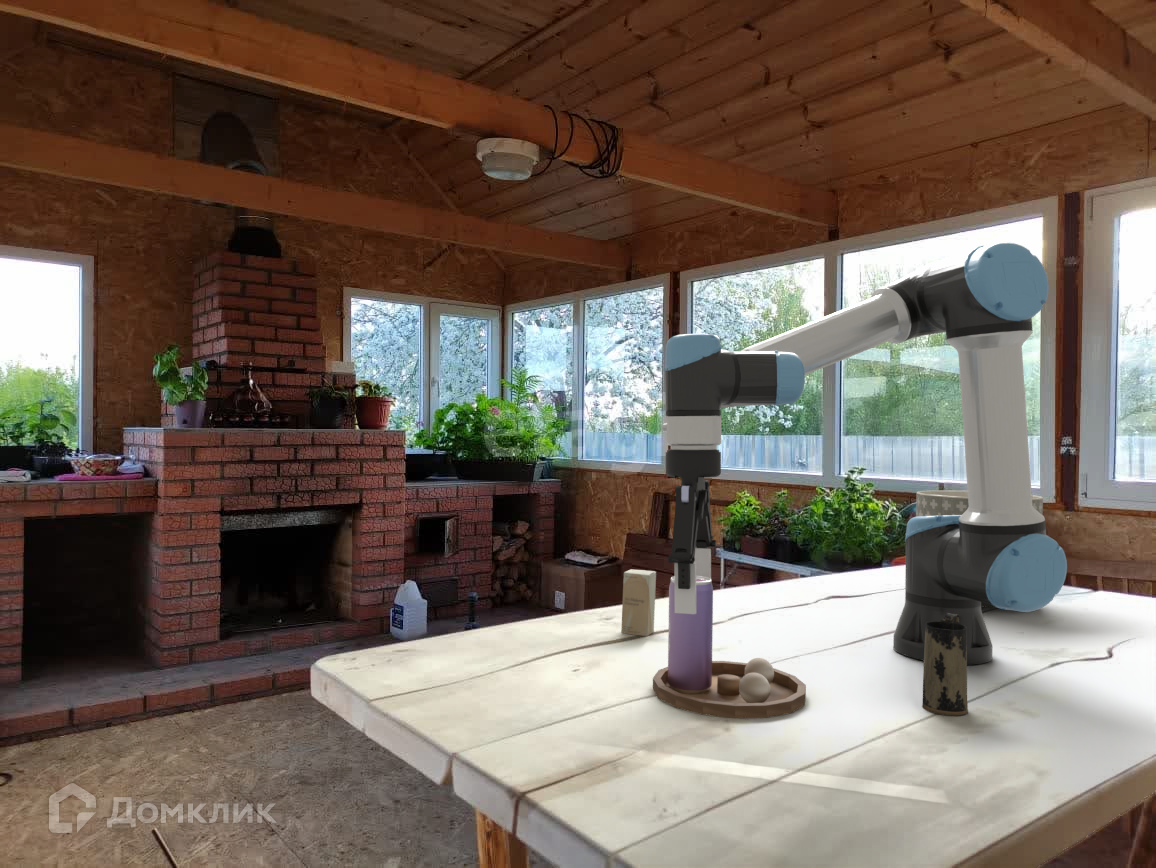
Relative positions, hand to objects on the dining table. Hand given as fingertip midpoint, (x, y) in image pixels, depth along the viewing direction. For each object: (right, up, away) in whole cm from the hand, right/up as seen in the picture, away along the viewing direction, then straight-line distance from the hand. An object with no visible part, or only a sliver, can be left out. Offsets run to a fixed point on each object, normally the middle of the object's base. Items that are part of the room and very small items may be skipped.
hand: (693, 602), depth 113 cm
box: (-5, -13, +36) cm, 38 cm away
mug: (+33, -13, -3) cm, 36 cm away
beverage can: (-1, -12, 0) cm, 12 cm away
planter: (+72, -14, +69) cm, 100 cm away
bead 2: (+7, -12, -6) cm, 15 cm away
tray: (+4, -13, -2) cm, 14 cm away
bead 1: (+9, -12, +1) cm, 15 cm away
